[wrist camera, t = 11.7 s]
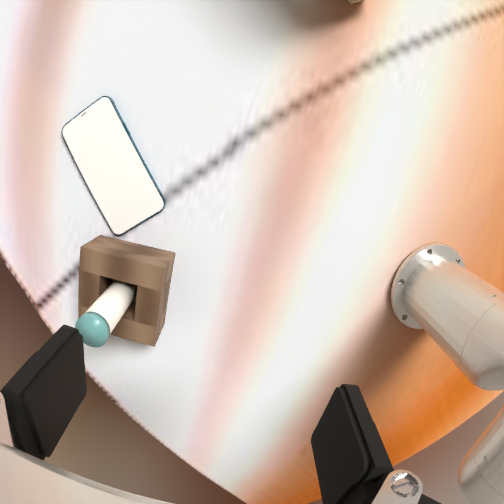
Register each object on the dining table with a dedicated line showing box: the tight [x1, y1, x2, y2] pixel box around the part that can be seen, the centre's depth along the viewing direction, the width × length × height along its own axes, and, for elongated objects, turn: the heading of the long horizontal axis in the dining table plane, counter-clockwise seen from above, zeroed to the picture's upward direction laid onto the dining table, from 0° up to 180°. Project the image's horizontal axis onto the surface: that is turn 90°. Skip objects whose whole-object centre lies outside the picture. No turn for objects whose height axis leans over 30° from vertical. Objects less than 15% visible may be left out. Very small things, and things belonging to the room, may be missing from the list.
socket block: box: [79, 235, 175, 347], centre depth 36 cm, size 10×10×6 cm
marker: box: [76, 280, 138, 347], centre depth 32 cm, size 3×3×12 cm
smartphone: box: [62, 96, 166, 235], centre depth 35 cm, size 8×1×16 cm
